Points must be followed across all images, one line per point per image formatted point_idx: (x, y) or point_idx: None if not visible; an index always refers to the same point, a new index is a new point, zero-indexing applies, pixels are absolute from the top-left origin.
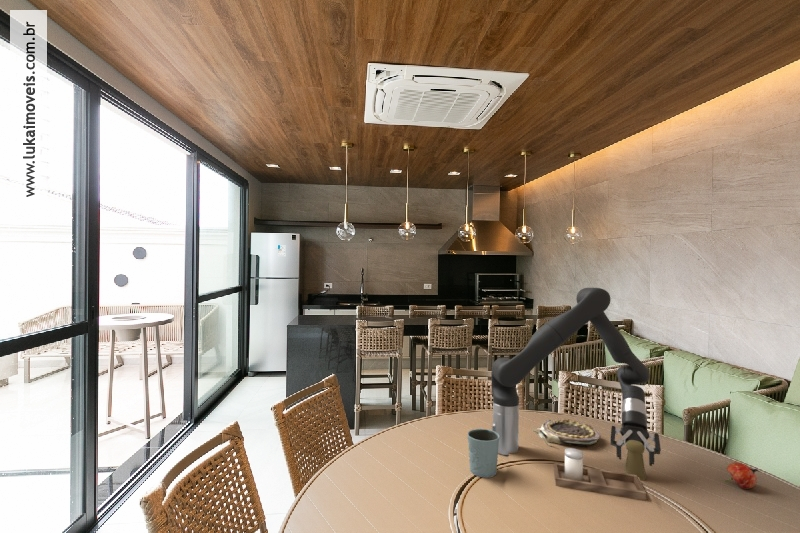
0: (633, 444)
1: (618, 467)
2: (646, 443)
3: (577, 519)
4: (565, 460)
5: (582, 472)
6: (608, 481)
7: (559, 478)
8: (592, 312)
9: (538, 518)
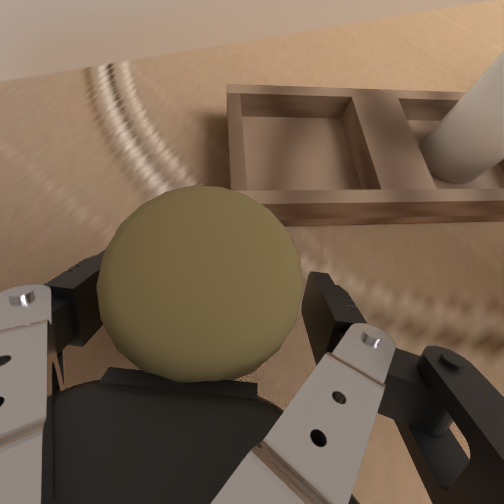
0: (237, 193)
1: (291, 399)
2: (25, 326)
3: (386, 34)
4: None
5: (448, 118)
6: (339, 184)
7: None
8: None
9: (451, 24)
